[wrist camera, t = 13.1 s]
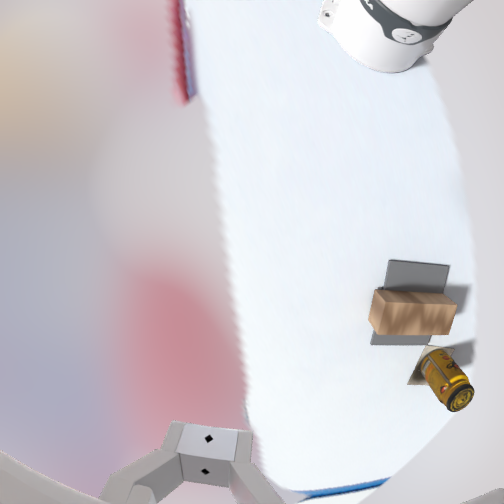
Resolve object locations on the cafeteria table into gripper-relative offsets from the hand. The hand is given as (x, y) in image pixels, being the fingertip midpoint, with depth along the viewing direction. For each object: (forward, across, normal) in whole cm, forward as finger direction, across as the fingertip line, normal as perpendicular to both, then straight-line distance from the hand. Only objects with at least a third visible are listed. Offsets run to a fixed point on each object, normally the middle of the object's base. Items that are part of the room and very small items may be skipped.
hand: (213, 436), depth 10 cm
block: (+32, +18, -8) cm, 37 cm away
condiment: (+35, +34, -20) cm, 52 cm away
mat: (+35, +25, -8) cm, 44 cm away
